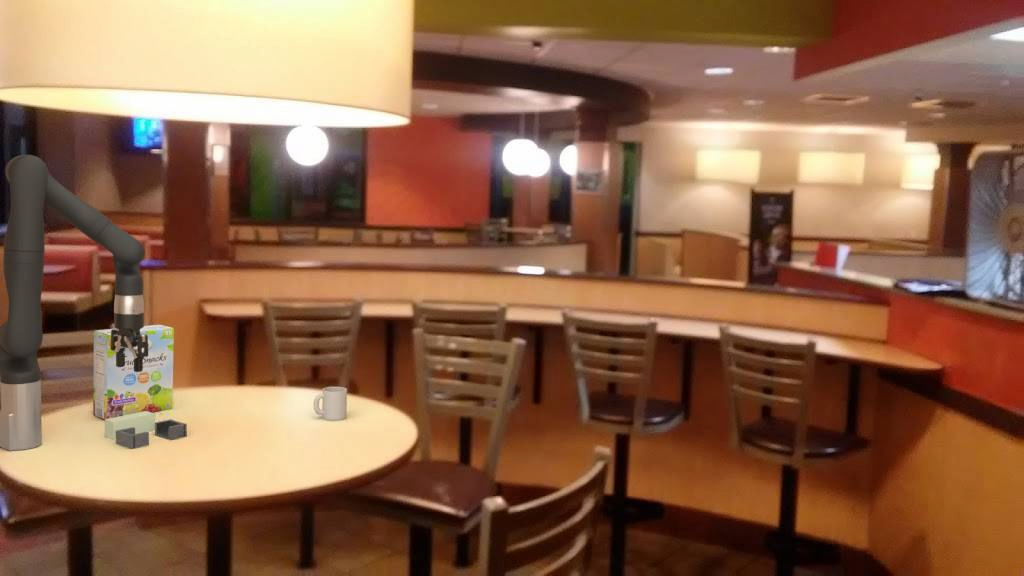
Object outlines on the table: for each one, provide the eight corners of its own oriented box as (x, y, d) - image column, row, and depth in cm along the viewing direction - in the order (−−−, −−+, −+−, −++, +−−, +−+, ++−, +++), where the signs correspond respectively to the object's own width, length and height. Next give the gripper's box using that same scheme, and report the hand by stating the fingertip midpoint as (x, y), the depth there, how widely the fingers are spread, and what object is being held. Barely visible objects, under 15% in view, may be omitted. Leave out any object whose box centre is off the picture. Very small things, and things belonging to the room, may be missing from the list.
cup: (348, 420, 275) (349, 391, 274) (315, 422, 271) (316, 393, 270) (343, 414, 282) (343, 386, 281) (310, 416, 278) (311, 387, 277)
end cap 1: (131, 449, 238) (131, 436, 238) (115, 443, 243) (115, 430, 242) (148, 445, 242) (148, 432, 242) (133, 439, 247) (133, 427, 246)
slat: (113, 440, 247) (113, 421, 246) (105, 437, 249) (104, 419, 248) (154, 430, 257) (154, 413, 256) (146, 428, 259) (146, 411, 259)
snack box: (107, 422, 263) (106, 334, 260) (91, 416, 268) (90, 330, 265) (175, 409, 280) (174, 326, 277) (159, 404, 286) (158, 323, 283)
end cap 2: (170, 431, 256) (170, 419, 256) (186, 436, 252) (186, 424, 251) (154, 434, 252) (154, 422, 252) (170, 440, 248) (170, 427, 247)
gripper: (101, 309, 250) (102, 367, 252) (131, 315, 242) (131, 375, 244) (126, 307, 256) (127, 363, 258) (156, 312, 248) (156, 371, 250)
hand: (129, 369), depth 251 cm, fingers open, 8 cm apart
